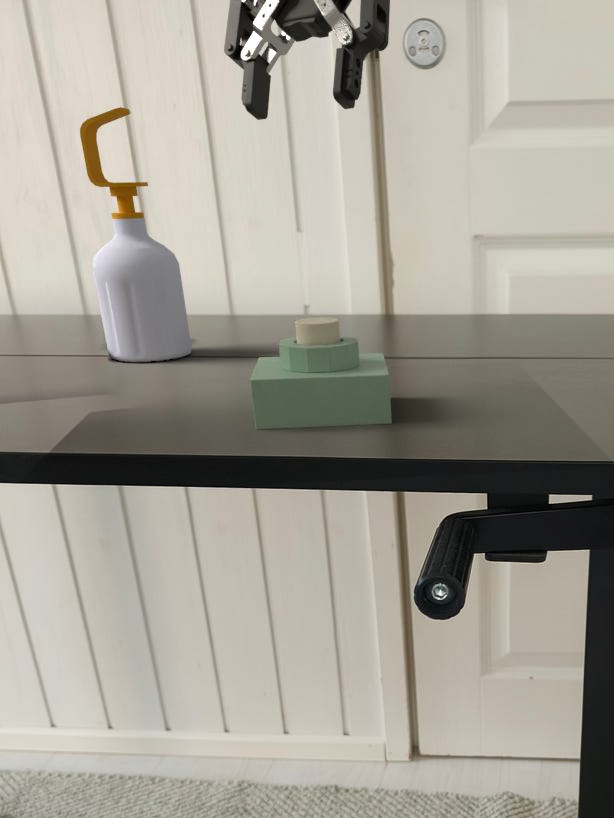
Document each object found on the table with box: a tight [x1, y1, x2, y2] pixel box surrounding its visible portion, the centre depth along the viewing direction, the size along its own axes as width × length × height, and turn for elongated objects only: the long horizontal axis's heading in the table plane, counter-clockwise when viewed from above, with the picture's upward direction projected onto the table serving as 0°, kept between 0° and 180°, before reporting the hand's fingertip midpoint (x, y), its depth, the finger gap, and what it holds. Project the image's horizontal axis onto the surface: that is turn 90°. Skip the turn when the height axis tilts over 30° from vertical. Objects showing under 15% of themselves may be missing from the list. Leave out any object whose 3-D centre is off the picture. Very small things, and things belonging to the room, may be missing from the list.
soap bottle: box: [79, 107, 193, 363], centre depth 99 cm, size 9×9×25 cm
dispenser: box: [249, 334, 393, 431], centre depth 78 cm, size 11×10×6 cm
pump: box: [294, 317, 341, 345], centre depth 76 cm, size 4×4×2 cm
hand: (298, 109), depth 74 cm, fingers open, 8 cm apart
